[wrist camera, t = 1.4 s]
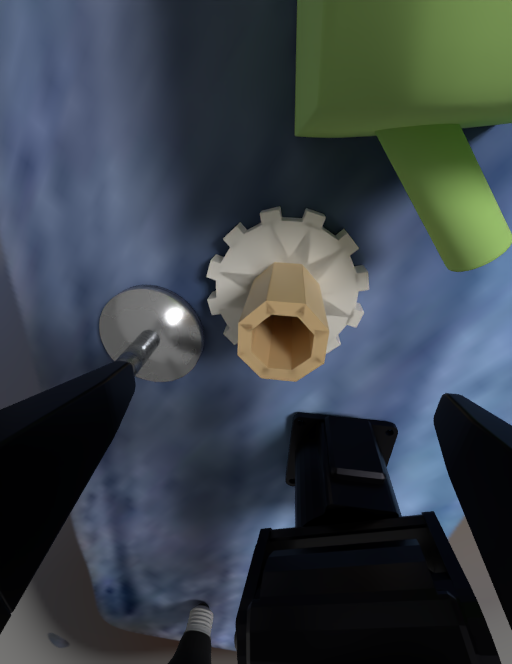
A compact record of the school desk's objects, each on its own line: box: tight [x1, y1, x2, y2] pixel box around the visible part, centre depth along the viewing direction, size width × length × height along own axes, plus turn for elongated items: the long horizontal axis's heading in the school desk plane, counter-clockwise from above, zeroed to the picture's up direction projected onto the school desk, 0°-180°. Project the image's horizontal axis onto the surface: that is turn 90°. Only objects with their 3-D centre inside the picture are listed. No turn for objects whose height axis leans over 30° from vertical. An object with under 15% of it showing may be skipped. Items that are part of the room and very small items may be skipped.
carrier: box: [99, 285, 204, 382], centre depth 17 cm, size 6×6×6 cm
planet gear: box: [207, 206, 369, 382], centre depth 14 cm, size 8×8×6 cm
